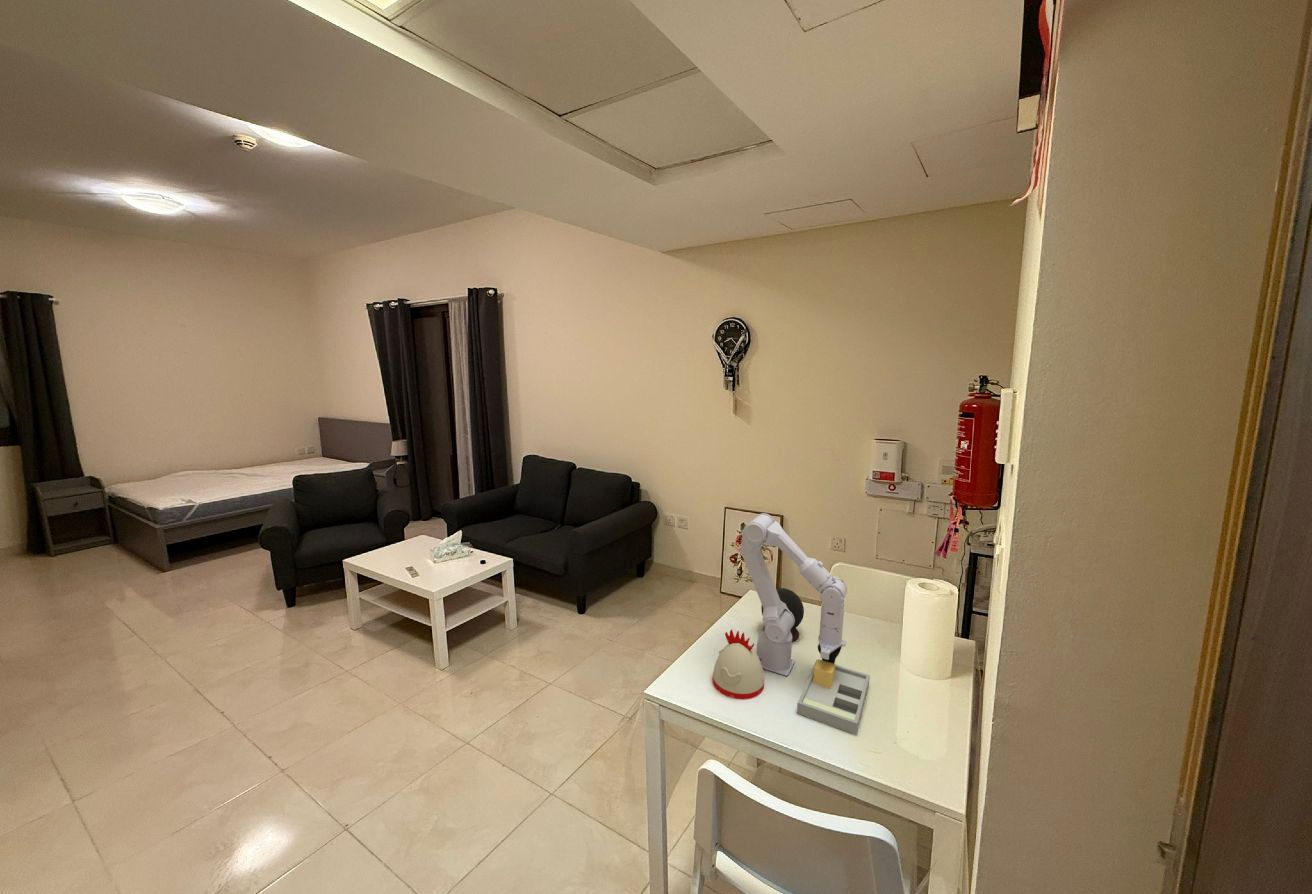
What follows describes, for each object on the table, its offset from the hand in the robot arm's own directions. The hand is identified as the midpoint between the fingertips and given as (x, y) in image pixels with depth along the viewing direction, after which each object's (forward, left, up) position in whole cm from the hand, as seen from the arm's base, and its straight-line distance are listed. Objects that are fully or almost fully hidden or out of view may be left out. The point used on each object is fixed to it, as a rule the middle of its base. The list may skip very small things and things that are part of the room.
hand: (828, 669), depth 136 cm
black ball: (-18, +17, -4) cm, 25 cm away
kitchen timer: (-21, -13, -4) cm, 25 cm away
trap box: (+3, -7, -3) cm, 8 cm away
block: (0, -4, -1) cm, 4 cm away
